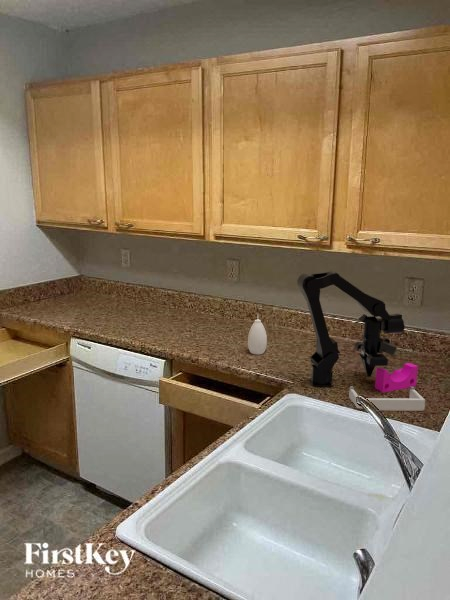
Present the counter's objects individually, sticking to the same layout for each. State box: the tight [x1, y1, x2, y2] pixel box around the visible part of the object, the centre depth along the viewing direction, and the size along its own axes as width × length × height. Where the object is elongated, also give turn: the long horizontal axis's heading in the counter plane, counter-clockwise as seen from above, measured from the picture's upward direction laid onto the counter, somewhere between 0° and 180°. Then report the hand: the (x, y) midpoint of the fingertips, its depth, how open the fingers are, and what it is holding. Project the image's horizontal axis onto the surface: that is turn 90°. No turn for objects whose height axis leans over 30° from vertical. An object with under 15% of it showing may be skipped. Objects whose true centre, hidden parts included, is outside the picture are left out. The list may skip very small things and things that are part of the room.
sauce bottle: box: [247, 315, 268, 356], centre depth 191 cm, size 8×8×18 cm
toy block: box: [374, 362, 419, 393], centre depth 162 cm, size 15×6×8 cm, turn 114°
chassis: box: [348, 385, 426, 412], centre depth 147 cm, size 21×9×4 cm, turn 90°
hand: (368, 376), depth 165 cm, fingers closed
